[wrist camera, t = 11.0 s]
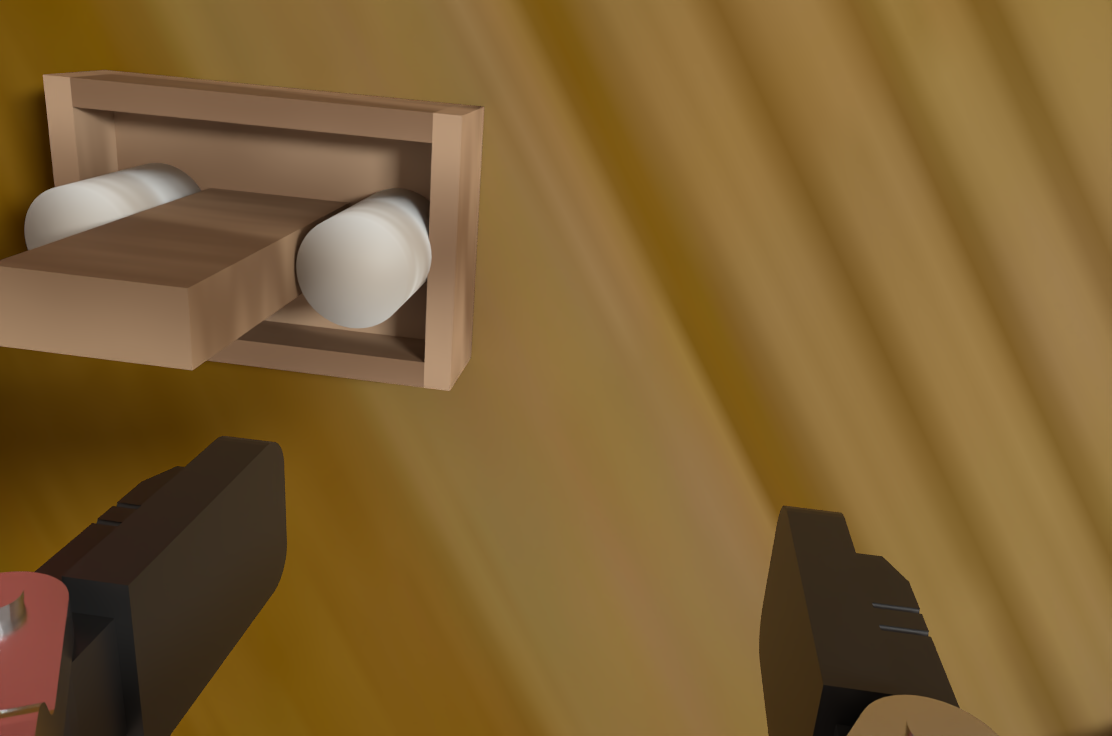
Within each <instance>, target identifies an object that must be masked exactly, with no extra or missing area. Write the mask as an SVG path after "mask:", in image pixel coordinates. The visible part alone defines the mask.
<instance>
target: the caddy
mask: <svg viewBox="0 0 1112 736" xmlns="http://www.w3.org/2000/svg"><path fill="white" fill-rule="evenodd" d="M43 81H44V90H45V100H46V109H47V119H48V128H49V138H50V147H51V157H52V166H53V176H54V185H55V188H51V189H49V190H47V191H45V192H43V193H42V194H40V195H39V196H38V197H37V198H36V199H35V200H34V201H33V203H32V204H31V206H30V208H29V209H28V212H27V215H26V219H25V227H24V232H25V240H26V245H27V248H28V251H25V252H22V253H20V254H17V255H14V256H11V257H8V258H5V259H2V260H0V346H4V347H12V348H20V349H28V350H36V351H43V352H51V353H59V354H67V355H75V356H83V357H91V358H99V359H107V360H115V361H123V362H131V363H139V364H147V365H155V366H162V367H170V368H178V369H186V370H194V369H195V368H196V367H198V366H199V365H201V364H202V363H204V362H205V361H206V360H207V361H215V362H223V363H231V364H239V365H247V366H255V367H263V368H271V369H279V370H287V371H295V372H303V373H311V374H319V375H327V376H335V377H343V378H351V379H359V380H367V381H375V382H383V383H391V384H399V385H407V386H415V387H423V388H431V389H439V390H447V391H450V390H451V388H452V387H453V385H454V383H455V382H456V380H457V379H458V377H459V376H460V374H461V373H462V371H463V369H464V368H465V366H466V365H467V363H468V362H469V360H470V358H471V347H472V328H473V309H474V291H475V272H476V253H477V234H478V215H479V196H480V177H481V158H482V139H483V120H484V107H481V106H471V105H461V104H450V103H440V102H430V101H419V100H409V99H398V98H388V97H378V96H367V95H357V94H347V93H336V92H326V91H316V90H305V89H295V88H285V87H274V86H264V85H254V84H243V83H233V82H223V81H212V80H202V79H192V78H181V77H171V76H161V75H150V74H140V73H130V72H119V71H109V70H98V71H85V72H72V73H59V74H46V75H43Z"/></svg>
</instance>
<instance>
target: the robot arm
mask: <svg viewBox="0 0 1112 736" xmlns="http://www.w3.org/2000/svg"><path fill="white" fill-rule="evenodd" d="M286 550H287V536H286V507H285V478H284V458H283V453H282V449H281V447H280V446H279V444H278V443H276V442H269V441H260V440H252V439H244V438H236V437H228V436H221V437H219V438H217V439H216V440H215V441H214V442H213V443H211V444H210V445H209V446H208V447H207V448H206V449H205V450H204V451H202V452H201V453H200V454H199V455H198V456H197V457H196V458H194V459H193V460H192V461H191V462H190V463H189V464H188V465H187V466H185V467H179V466H176V467H174V468H172V469H170V470H167V471H165V472H163V473H161V474H158V475H156V476H154V477H152V478H149V479H147V480H145V481H142V482H141V483H140V484H138V485H137V486H136V487H135V488H134V489H133V490H131V491H130V492H129V493H128V494H127V495H125V496H124V497H123V498H122V499H121V500H119V501H118V502H117V507H115V506H112V507H111V508H110V509H109V510H108V511H106V512H105V513H104V514H103V515H102V516H100V517H99V518H98V521H97V524H94V523H92V524H91V525H90V526H89V527H87V528H86V529H85V530H84V531H83V532H81V533H80V534H79V535H78V536H77V537H75V538H74V539H73V540H72V541H71V542H70V543H68V544H67V545H66V546H65V547H64V548H62V549H61V550H60V551H59V552H58V553H56V554H55V555H54V556H53V557H52V558H51V559H49V560H48V561H47V562H46V563H45V564H43V565H42V566H41V567H40V568H39V569H37V570H36V571H35V572H6V573H0V736H170V735H171V733H172V732H173V730H174V729H175V728H176V726H177V725H178V724H179V722H180V721H181V719H182V718H183V717H184V715H185V714H186V713H187V711H188V710H189V708H190V707H191V706H192V704H193V703H194V701H195V700H196V699H197V697H198V696H199V695H200V693H201V692H202V690H203V689H204V688H205V686H206V685H207V684H208V682H209V681H210V679H211V678H212V677H213V675H214V674H215V672H216V671H217V670H218V668H219V667H220V666H221V664H222V663H223V661H224V660H225V659H226V657H227V656H228V655H229V653H230V652H231V650H232V649H233V648H234V646H235V645H236V644H237V642H238V641H239V639H240V638H241V637H242V635H243V634H244V632H245V631H246V630H247V628H248V627H249V626H250V624H251V623H252V621H253V620H254V619H255V617H256V616H257V615H258V613H259V612H260V610H261V609H262V608H263V606H264V605H265V604H266V602H267V601H268V599H269V598H270V597H271V595H272V594H273V592H274V591H275V589H276V587H277V585H278V583H279V581H280V578H281V575H282V572H283V568H284V564H285V559H286ZM919 609H920V608H919V606H918V603H917V601H916V598H915V596H914V593H913V591H912V588H911V586H910V583H909V581H907V580H906V579H905V578H904V577H903V576H902V575H901V574H900V573H899V572H898V571H897V570H896V569H895V568H894V567H893V566H892V565H891V564H890V563H889V562H888V561H887V560H886V559H884V558H883V557H882V556H874V555H866V554H859V553H856V552H855V549H854V546H853V543H852V540H851V537H850V534H849V530H848V527H847V524H846V521H845V518H844V516H843V514H842V513H839V512H831V511H823V510H815V509H807V508H798V507H790V506H783V507H782V508H781V511H780V514H779V518H778V522H777V527H776V533H775V539H774V545H773V550H772V556H771V562H770V568H769V573H768V579H767V585H766V590H765V596H764V602H763V608H762V615H761V624H760V639H759V654H760V666H761V674H762V683H763V691H764V700H765V708H766V716H767V725H768V733H769V736H998V735H997V734H996V733H995V732H994V731H993V730H992V729H991V728H990V727H989V726H987V725H986V724H985V723H983V722H982V721H981V720H979V719H978V718H976V717H974V716H973V715H971V714H970V713H968V712H966V711H964V710H962V709H960V708H959V705H958V703H957V700H956V698H955V695H954V693H953V690H952V688H951V685H950V683H949V680H948V678H947V675H946V673H945V671H944V668H943V666H942V663H941V661H940V658H939V656H938V653H937V651H936V648H935V646H934V643H933V641H932V638H931V637H928V632H929V631H928V628H927V626H926V623H925V621H924V618H923V616H922V614H919Z"/></svg>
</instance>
